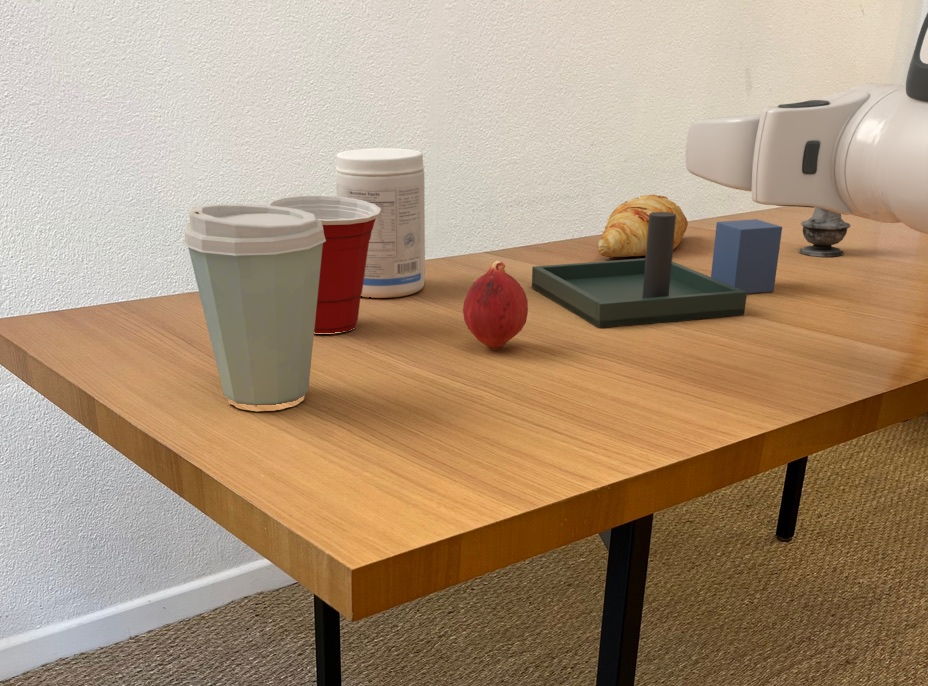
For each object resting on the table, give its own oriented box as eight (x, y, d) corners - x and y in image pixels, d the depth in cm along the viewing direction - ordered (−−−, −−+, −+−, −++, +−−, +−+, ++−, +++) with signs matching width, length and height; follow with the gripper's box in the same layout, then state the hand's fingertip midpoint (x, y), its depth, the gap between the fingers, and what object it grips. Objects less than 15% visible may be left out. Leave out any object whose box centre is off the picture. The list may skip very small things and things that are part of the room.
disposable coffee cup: (311, 373, 90) (301, 193, 84) (353, 412, 81) (345, 213, 75) (188, 389, 86) (167, 202, 80) (217, 432, 77) (197, 225, 71)
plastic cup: (334, 350, 96) (328, 216, 91) (250, 331, 102) (240, 205, 97) (406, 324, 104) (404, 200, 99) (324, 309, 110) (319, 190, 105)
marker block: (749, 282, 119) (756, 219, 116) (774, 291, 115) (782, 226, 112) (709, 285, 118) (716, 221, 115) (733, 295, 114) (741, 229, 111)
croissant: (621, 293, 129) (653, 238, 124) (559, 246, 132) (588, 191, 127) (693, 259, 144) (725, 209, 139) (637, 218, 147) (665, 168, 142)
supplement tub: (350, 279, 123) (345, 147, 117) (431, 281, 121) (430, 147, 115) (332, 299, 114) (325, 157, 108) (418, 301, 113) (416, 157, 106)
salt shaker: (831, 259, 130) (847, 157, 125) (788, 252, 134) (801, 153, 129) (854, 252, 133) (870, 153, 128) (811, 246, 137) (825, 149, 132)
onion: (510, 362, 92) (512, 271, 89) (452, 353, 95) (452, 264, 92) (536, 345, 97) (539, 258, 94) (480, 337, 100) (481, 252, 96)
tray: (660, 277, 122) (668, 190, 118) (744, 315, 106) (756, 215, 102) (531, 287, 118) (534, 197, 114) (598, 328, 102) (605, 225, 98)
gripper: (1006, 97, 75) (879, 87, 87) (752, 109, 70) (655, 96, 82) (987, 188, 78) (866, 166, 90) (741, 206, 73) (649, 180, 85)
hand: (763, 133), depth 86 cm, fingers open, 8 cm apart
